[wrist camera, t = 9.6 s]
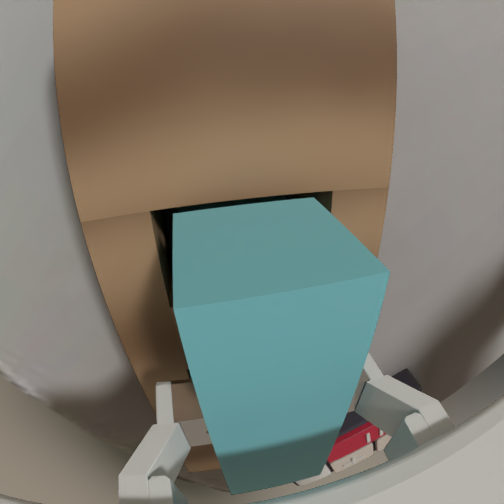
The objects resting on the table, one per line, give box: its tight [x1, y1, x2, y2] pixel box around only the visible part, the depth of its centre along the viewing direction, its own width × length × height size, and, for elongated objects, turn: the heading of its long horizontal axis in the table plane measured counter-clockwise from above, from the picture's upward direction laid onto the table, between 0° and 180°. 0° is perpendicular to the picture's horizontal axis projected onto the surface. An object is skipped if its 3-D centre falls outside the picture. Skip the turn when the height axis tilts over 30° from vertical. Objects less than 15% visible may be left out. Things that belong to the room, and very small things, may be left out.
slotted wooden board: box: [53, 0, 397, 473], centre depth 14 cm, size 28×10×4 cm, turn 2°
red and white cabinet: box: [293, 369, 422, 486], centre depth 27 cm, size 11×4×15 cm
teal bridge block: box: [173, 195, 390, 495], centre depth 12 cm, size 11×4×8 cm, turn 2°
